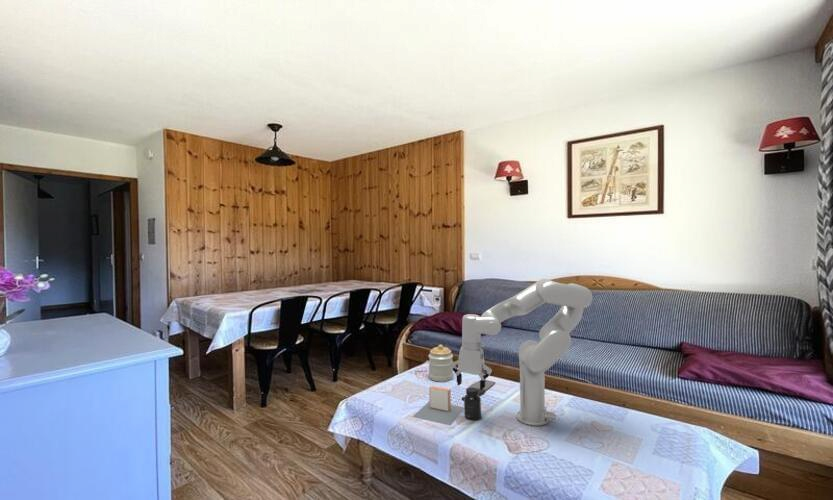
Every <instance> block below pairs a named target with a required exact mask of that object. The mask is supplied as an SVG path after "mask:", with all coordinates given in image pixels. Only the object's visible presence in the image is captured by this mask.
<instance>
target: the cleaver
mask: <svg viewBox="0 0 833 500" xmlns="http://www.w3.org/2000/svg"><path fill="white" fill-rule="evenodd" d="M495 384H496V381H492V380H488V379H485V387H484V388H483V389H482V390H480V380H478V381H475V382H474V383H472V384H471V385H469V386H467V388H470V387H474V388H477V389H478V395H479V396H480V397H481V396H483V395H484V394H485V393H486V391H488V390H489V389H490V388H492V387H494V385H495ZM464 397H465V396H463V397H461V401H463V402H464Z"/></svg>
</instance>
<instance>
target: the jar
mask: <svg viewBox="0 0 833 500" xmlns="http://www.w3.org/2000/svg"><path fill="white" fill-rule="evenodd" d="M453 357H454V354H452V350H451V349H449V347H446V346H444V345H443V344H438V346H436V347H432V349H430V351H429V354H428V358H429V360H428V377H429V379H430V380H432V381H433V382H440V383H441V382H442V383H443V382H449V381H452V380H453V378H454V371H453V368H452V366H451V363H452V362H454V361H453Z"/></svg>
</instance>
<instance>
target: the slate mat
mask: <svg viewBox="0 0 833 500" xmlns="http://www.w3.org/2000/svg"><path fill="white" fill-rule="evenodd" d="M463 411H464V406H460V405H459V406H458V405H454V404H451V410H450V411H449V412H448V411H443V410H438V409H434V408H430V400H429V401H428V402H426V404H424V405H423V406H422V407H421V408H420V409H419V410H417V412H415V413H414V414H413V415H412V417H413V418H417V419H421V420H426V421H429V422H434V423H437V424H443V425H447V426H451V425H452V424H453V423H454V422H455V421H456V420H457V418H458V417H459V416H460V415H461V414H462V413H463Z"/></svg>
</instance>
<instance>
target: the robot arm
mask: <svg viewBox="0 0 833 500" xmlns="http://www.w3.org/2000/svg"><path fill="white" fill-rule="evenodd" d="M592 302H593V294H592V291H591V290H590V289H589V288H588V287H587V286H584V285H580V284H577V283H573V282H571V283H562V282H558V281H553V280H551V279H548V278H542V279H539V280H537V281H536V282H534V283H532V284H530V285H529V286H528V287H526V288H525V289H523V290H522V291H520V292H519V293H517V294H515V295H514V296H512V297H509V298H507V299H505V300H504V301H500V302H499V303H497V304H495V305H493V306H492V307H491V308H489V309H488V310H485V311H484V312H483V313H482V314H481V315H478V314H476V313H475V314H472V313H468V314H464V315H463V316H462V321H461V323H462V326H461V328H462V329H461V333H462V335H461V347H459V348H460V349H459V354H458V359H457V360H456V361H453V362H452V363H451V366H452V368H453V373H454V374H455V375H456V383H457V384H456V385H457V386H460V385H462V381H463V375H462V373H465V374H469V375H470V374H471V375H476V376H478V377H479V378H480V380H479V381H480V390H482V389H483V388H484V387H485V380H487V378H489V376H490V375H491V374H492V371H493V369H492V368H491V367H490V366H487V365H486V364H485V358H484V357H485V356H484V349H483V348H485V344H484V343H482V341H481V340H482V339H481V338H482V337H481V336H482V335H487V336H495V335H497V334H499V333H500V332H501V330H502V324H501V323H503V322H504V321H505V320H507V319H509V318H513V317H517V316H518V317H519V316H524V315H527V314H529V313H531V312H533V310H535V309H537V308H539V307H540V306H542V305H543V304H545V303H547V304H552V305H555V306H560V308H559V310H558V311H557V312H556V313H555V314H554V316H552V318H550V319H549V320H548V321H547V322H546V323H545V324H544V325H543V326H542V327H541V328H540V330H539V334H538V335H539V336H538V337H539V339H540V341H539V342H538V341H535V340H530V339H528V340H525V341H523V342H522V343H521V344H520V346H519V349H518V361H519V363H518V364H519V390H520V391H519V396H520V397H519V401H520V403H519V405H520V408H519V409H520V410H518V411H517V412H516V419H517V420H518V421H519V422H520V423H522V424H525V425H528V426H534V427H535V426H538V427H539V426H544V425H547V424H548V423H549V422H550V420H554V421H556V420H557V414H555V412H553V411H548V410H547V406H545V405H546V404H545V403H546V402H545V399H546V398H545V392H546V390H545V387H546V386H545V381H546V379H545V378H546V377H545V372H546V371H548V370H549V369H550V368H551V367H552V366H553V365H554V364H556V363H557V362H558V361H559V360H560V359H561V358H562V357H563V356H564V355H565V354H566V353H567V352H568V351H569V349H570V347H571V345H572V337H571V335H570V333H571V332H572V331H573V330H574V329H575V328H576V327H577V326H578V324H579V323H580V322H581V320H582V317H583V313H584V309H585V308H587V307H589V306H590V305H591V304H592ZM485 371H486V374H485V373H484V372H485Z"/></svg>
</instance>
